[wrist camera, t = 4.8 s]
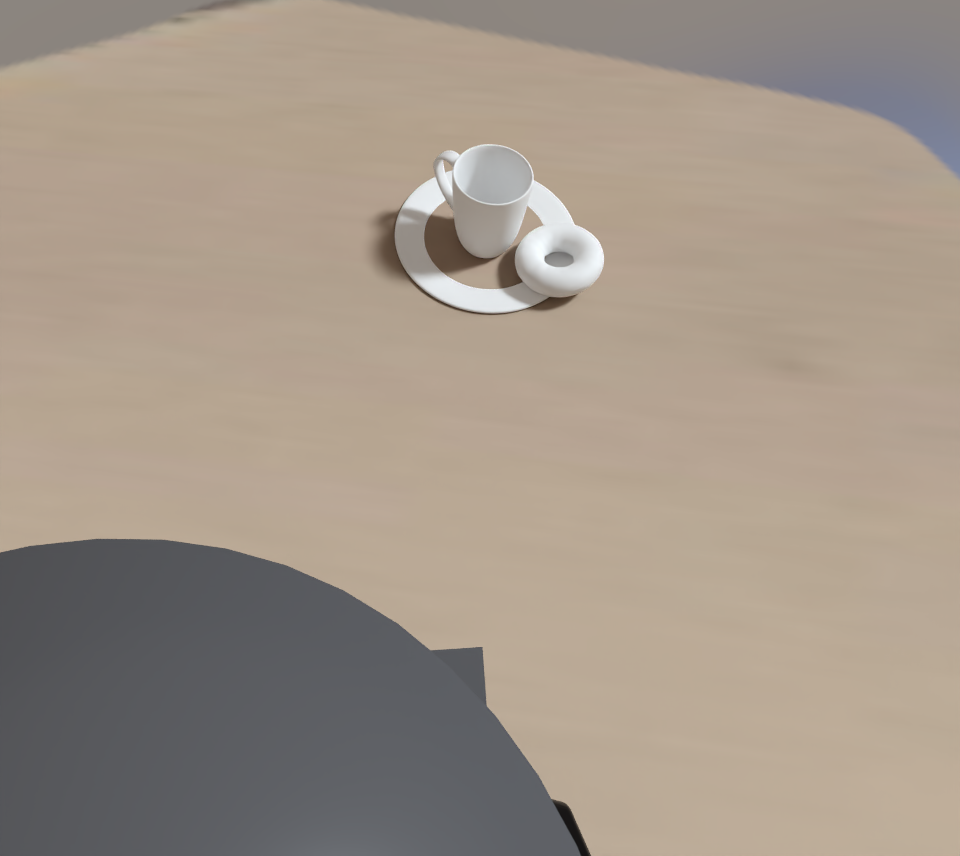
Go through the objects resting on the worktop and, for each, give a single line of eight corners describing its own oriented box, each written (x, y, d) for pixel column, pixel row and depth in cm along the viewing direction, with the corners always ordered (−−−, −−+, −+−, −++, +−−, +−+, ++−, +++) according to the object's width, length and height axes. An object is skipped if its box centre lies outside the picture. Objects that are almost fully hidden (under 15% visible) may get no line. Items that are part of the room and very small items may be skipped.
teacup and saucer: (622, 284, 29) (652, 218, 25) (468, 365, 26) (476, 306, 23) (510, 153, 31) (521, 75, 28) (361, 216, 29) (352, 141, 25)
